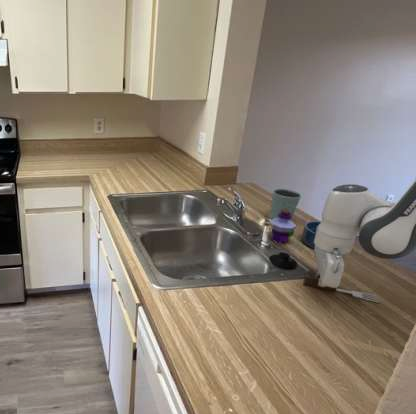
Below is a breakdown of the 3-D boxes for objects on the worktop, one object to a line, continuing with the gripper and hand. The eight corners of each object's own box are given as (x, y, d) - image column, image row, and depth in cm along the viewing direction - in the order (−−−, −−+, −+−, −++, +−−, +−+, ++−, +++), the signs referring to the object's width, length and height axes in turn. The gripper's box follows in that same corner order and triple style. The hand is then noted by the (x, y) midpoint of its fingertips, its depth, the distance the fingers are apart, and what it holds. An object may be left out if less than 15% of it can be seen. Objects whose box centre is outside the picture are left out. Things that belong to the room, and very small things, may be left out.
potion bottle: (291, 247, 119) (299, 217, 114) (264, 241, 123) (271, 212, 118) (292, 237, 125) (300, 208, 120) (267, 232, 129) (274, 204, 125)
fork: (376, 297, 93) (379, 288, 92) (379, 303, 91) (382, 295, 90) (302, 280, 101) (305, 272, 99) (303, 286, 98) (306, 278, 97)
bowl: (340, 239, 124) (344, 225, 121) (346, 256, 113) (352, 241, 110) (299, 232, 129) (303, 218, 127) (302, 248, 118) (306, 233, 116)
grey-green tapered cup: (262, 214, 144) (268, 188, 140) (285, 213, 145) (291, 188, 140) (275, 224, 135) (282, 197, 130) (299, 224, 136) (306, 197, 131)
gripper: (355, 262, 82) (339, 306, 87) (340, 228, 99) (328, 267, 104) (325, 256, 84) (311, 300, 90) (316, 224, 101) (305, 262, 107)
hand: (320, 282), depth 97 cm, fingers closed on fork, 2 cm apart
